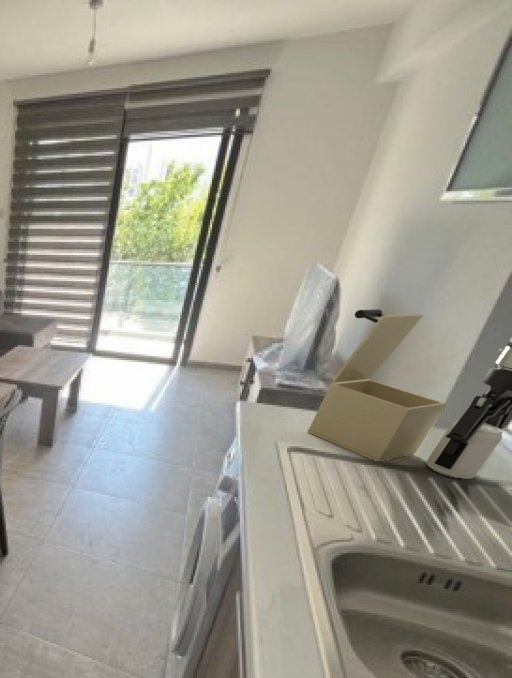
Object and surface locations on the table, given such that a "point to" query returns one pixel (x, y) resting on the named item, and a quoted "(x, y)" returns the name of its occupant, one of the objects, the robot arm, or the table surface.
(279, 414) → the table surface
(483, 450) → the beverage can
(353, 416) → the tan box
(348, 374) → the box lid
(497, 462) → the table surface
